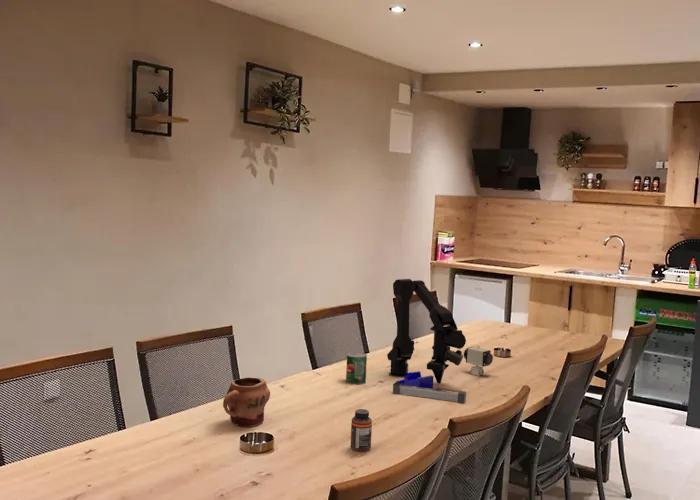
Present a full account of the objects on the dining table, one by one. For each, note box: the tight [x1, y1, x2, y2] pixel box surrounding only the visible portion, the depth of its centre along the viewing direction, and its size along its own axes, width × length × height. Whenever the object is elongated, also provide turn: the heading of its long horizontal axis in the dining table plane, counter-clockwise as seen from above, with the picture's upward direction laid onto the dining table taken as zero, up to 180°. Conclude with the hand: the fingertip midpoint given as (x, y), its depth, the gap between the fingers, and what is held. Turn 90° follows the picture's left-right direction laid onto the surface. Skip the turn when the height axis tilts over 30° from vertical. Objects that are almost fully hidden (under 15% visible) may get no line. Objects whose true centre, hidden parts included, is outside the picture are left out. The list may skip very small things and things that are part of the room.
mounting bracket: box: [395, 370, 441, 390], centre depth 267 cm, size 18×7×6 cm, turn 37°
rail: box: [392, 381, 467, 404], centre depth 256 cm, size 27×3×4 cm, turn 70°
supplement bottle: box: [350, 408, 373, 453], centre depth 202 cm, size 6×6×11 cm
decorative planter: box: [222, 377, 271, 428], centre depth 219 cm, size 20×12×14 cm, turn 154°
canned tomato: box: [345, 351, 368, 386], centre depth 273 cm, size 8×8×11 cm
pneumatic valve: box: [463, 346, 494, 377], centre depth 292 cm, size 6×12×12 cm, turn 46°
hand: (438, 383), depth 268 cm, fingers closed
